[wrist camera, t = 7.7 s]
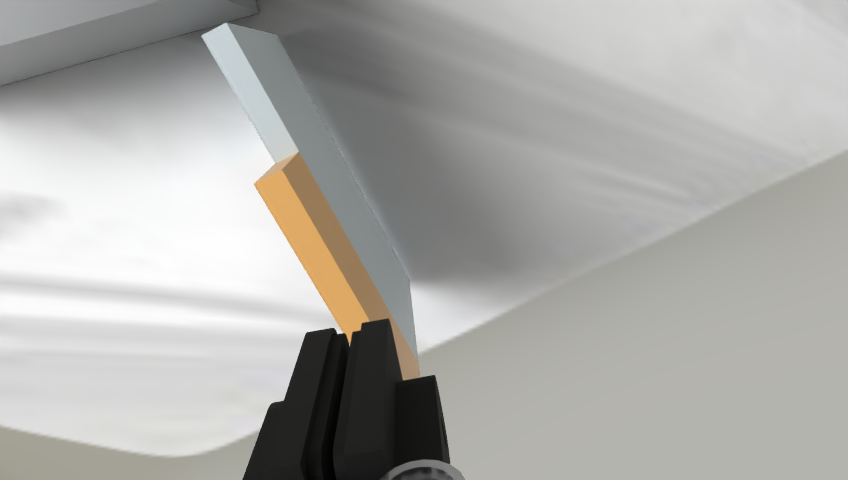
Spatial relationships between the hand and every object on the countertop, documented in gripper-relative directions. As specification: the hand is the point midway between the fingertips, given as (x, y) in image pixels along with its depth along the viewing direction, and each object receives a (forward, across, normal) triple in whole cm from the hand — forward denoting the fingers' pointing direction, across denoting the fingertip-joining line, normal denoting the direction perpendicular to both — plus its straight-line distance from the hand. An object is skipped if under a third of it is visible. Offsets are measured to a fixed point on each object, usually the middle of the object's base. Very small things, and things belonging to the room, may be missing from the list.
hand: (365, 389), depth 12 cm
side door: (+15, +2, -2) cm, 15 cm away
